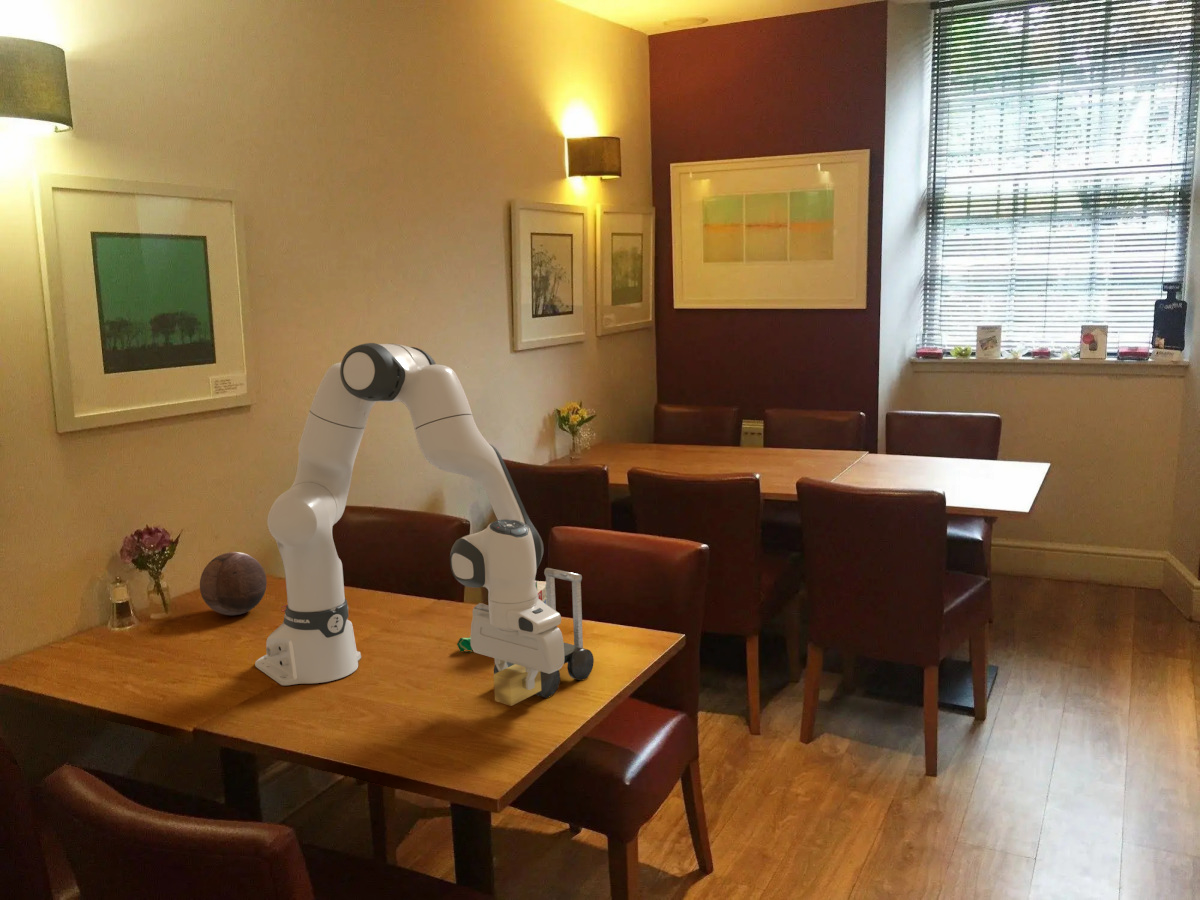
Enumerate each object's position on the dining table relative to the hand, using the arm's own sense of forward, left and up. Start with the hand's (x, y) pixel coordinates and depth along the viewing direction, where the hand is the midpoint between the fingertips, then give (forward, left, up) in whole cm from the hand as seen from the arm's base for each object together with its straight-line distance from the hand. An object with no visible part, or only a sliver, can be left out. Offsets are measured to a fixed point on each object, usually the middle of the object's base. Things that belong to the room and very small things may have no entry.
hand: (517, 684), depth 181 cm
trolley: (-5, +13, -5) cm, 15 cm away
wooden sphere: (-94, +1, -5) cm, 94 cm away
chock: (0, 0, -2) cm, 2 cm away
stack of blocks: (-26, +29, -5) cm, 39 cm away
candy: (-30, +20, -5) cm, 37 cm away
